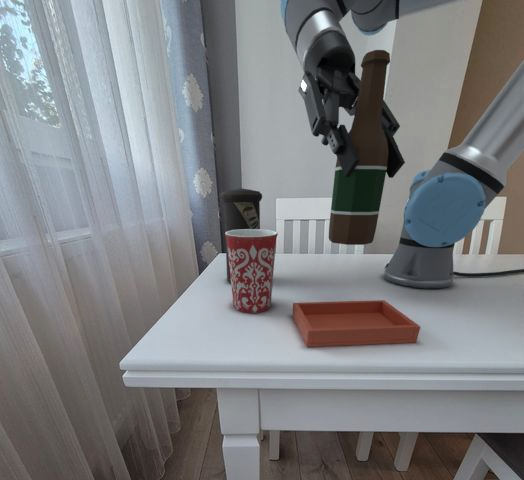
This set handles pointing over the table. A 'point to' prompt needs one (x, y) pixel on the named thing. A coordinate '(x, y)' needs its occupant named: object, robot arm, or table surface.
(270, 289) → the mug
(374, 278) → the table surface
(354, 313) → the red tray
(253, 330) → the table surface
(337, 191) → the beer bottle
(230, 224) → the container
